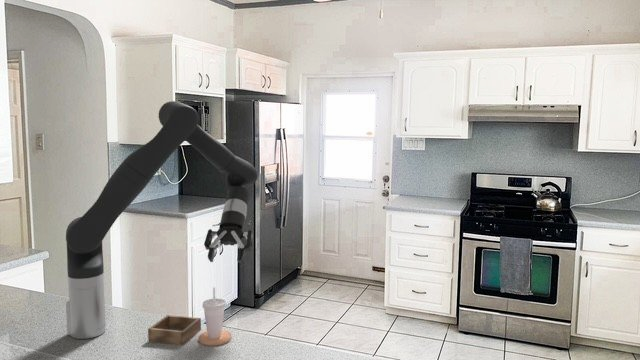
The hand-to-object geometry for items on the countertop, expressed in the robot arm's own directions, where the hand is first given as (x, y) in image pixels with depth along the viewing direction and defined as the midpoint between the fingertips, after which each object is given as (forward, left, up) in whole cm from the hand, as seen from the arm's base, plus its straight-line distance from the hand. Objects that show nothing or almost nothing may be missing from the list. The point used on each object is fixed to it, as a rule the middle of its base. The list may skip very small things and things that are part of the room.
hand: (224, 261), depth 149 cm
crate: (-10, -11, -19) cm, 25 cm away
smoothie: (+1, -11, -19) cm, 22 cm away
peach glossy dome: (+2, -11, -19) cm, 22 cm away
